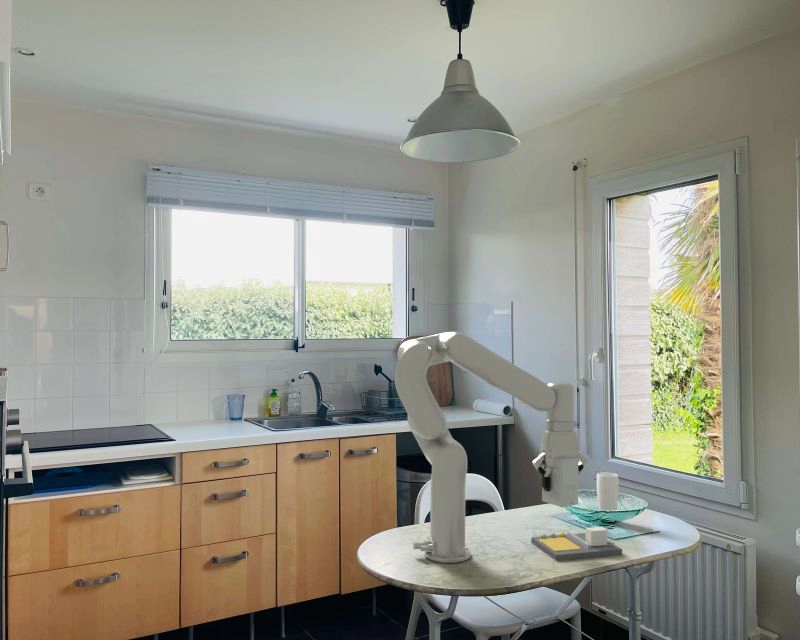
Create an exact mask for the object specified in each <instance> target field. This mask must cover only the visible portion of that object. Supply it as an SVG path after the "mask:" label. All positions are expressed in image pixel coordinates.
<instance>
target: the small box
mask: <svg viewBox="0 0 800 640" xmlns="http://www.w3.org/2000/svg"><path fill="white" fill-rule="evenodd" d="M542 463H544V464H545V459H544V460H543V461H542ZM578 464H579V463H578V458H561V459H556V462H555V467H554V468H552V470H551V472H550V474H549V477H550V491H546V490H544V489H543V487H541V493H542V494H541V500H542V502H544V503H548V504H550V505H554V506H557V507H559V508H567V507H572V506H577V505H579V475H578ZM543 466H544V465H542V464H541V467H542V468H543Z"/></svg>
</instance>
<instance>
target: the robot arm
mask: <svg viewBox="0 0 800 640" xmlns="http://www.w3.org/2000/svg"><path fill="white" fill-rule="evenodd" d="M396 356H397V357H396V358H397V360H398V362H397V364H396V368H395V372H394V386H395V390H396V392H397V395H398V397H399V399H400V401H401V403H402V405H403V407H404V410H405V412H406V414H407V425H408V426H409V429H410V431H411V433H412V434H413V436H414V439H415V441H417V444H418V446H419V448H420V449H421V451H422V454H423V455H424V456H425V458H426V460H427V461H428V462H429V464H430V465H431V475H430V476H431V477H430V492H429V493H430V494H429V495H430V515H429V517H430V521H429V522H430V523H429V524H430V525H429V526H430V527H429V528H430V529H429V530H430V531H429V532H430V535H429V536H427V537H426V539H425V540H423V541H413V542H412V548H413V550H420V552H424V556H425V557H426V558H427V559H428V560H430V561H433V562H437V563H445V564H453V563H454V564H456V563H461V562H464V561H467V560H469V559H470V558H471V557H472V555H471V553H472V552H471V550H470V549H469V548H468V547H466V482H467V480H466V479H467V472H468V456H467V452H466V450H465V448H464V446H462V444H461V443H460V442H458V440H455V439H454V438H453V436H452V434H451V432H450V431H449V429H448V427H447V425H448V424H447V418H446V414H445V413H444V412H443V409H441V407H440V405H439V403H438V402H437V399H436V398H435V396H434V394H433V392H432V389H431V388H430V386H429V384H428V379H427V373H428V370H429V368H430V367H431V366H434V365H440V364H443V363H448V362H450V363H452V364H454V365H455V366H457V367H458V368H460V369H462V370H463V371H465V372H467V374H470V375H471V376H473V377H475V378H477V380H480V381H481V382H483V383H484V384H487V385H488V386H490V387H492V388H495V389H498V390H500V391H503V392H505V393H507V394H508V395H510V396H512V397H514V398H516V399H517V400H518V403H520V404H521V405H522V406H524V407H526V408H528V409H531V410H534V411H536V412H539V413H540V412H545V414H546V415H545V416H546V421H545V425H546V427H545V428H546V429H545V430H543V431H542V436H541V442H540V453H539V455H538V456H537V457H536V458H535V459H534V460H532V462H531V463H532V465H533V467H534V468H535V469H536V471H537V472H539V474H540V475H541V486H542V487H543V489H544V490H546V491H550V477H549V474H550V472H551V470H552V468H554V467H555V462H556V459H561V458H578V476H579V475H580V473H581V472H582V470H583V469H584V468H585V465H586V464H587V463H588V459H587V458H586V457H584V455H582V454H581V453H580V452H579V450H580V449H579V442H578V441H579V440H578V435H577V431H576V430H575V427H579V426H578V425H579V423H578V421H575V416H574V415H575V414H574V413H575V409H574V408H575V405H574V404H575V403H574V402H575V389H574V385H573V384H572V383H570V382H564V381H555V382H552V381H551V382H544V381H542V380H541V379H539V378H537V377H536V376H534V375H532V374H531V373H529V372H527V371H526V370H525V369H523V368H520V367H519V366H517V365H515V364H514V363H512V362H511V361H509V360H508V359H506V358H504V357H502V356H501V355H499V354H498V353H496V352H494V351H492V350H491V349H489V348H488V347H486V346H485V345H482V344H481V343H479V342H478V341H477V340H475V339H473V338H471V337H470V336H469V335H467V334H465V333H462V332H460V331H446V332H445V331H444V332H442V333H438V334H433V335H428V336H423V337H418V338H411V339H408V340H406V341H404V342H403V343H402V344H400V346H399V348H398V349H397V354H396ZM544 459H545V464H544V463H542V461H543V460H544ZM542 465H544V466H543V468H542ZM542 487H541V488H542Z"/></svg>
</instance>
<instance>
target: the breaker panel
mask: <svg viewBox="0 0 800 640" xmlns="http://www.w3.org/2000/svg"><path fill="white" fill-rule="evenodd" d="M530 541H531V542H530V543H531V544H533V545H534V546H536V547H537V548H538V549H540V550H541V551H542V552H543V553H545V554H547V556H549V557H551V559H553V560H554V559H555V560H554V561H557V560H558V561H567V559H568V560H575V559H576V560H578V558H579V559H588V558H598V557H609V556H611V557H612V556H622V555H623V549H622V547H620V546H618V545H617V544H615V542H613V541H612V540H609V538H607V545H602V546H591V545H590V544H589V543H587V542H586V532H580V533H573V532H571V531H568V532H567V534H566V532H561V531H560V532H559V533H558V534H557V535H556V533H555V532H550V533H549V535H546V534H545V533H541V534H540V535H539V536H533V537H532V536H531V540H530Z"/></svg>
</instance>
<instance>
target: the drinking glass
mask: <svg viewBox="0 0 800 640" xmlns="http://www.w3.org/2000/svg"><path fill="white" fill-rule="evenodd" d="M619 481H620V480H619V474H618V473H614V472H606V471H605V472H604V471H602V472H597V473H596V497H597V505H598V506H597V507H598V510H599V509H600V510H617V508H618V499H619V498H618V497H619V488H620V486H619V484H620V482H619Z"/></svg>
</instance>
